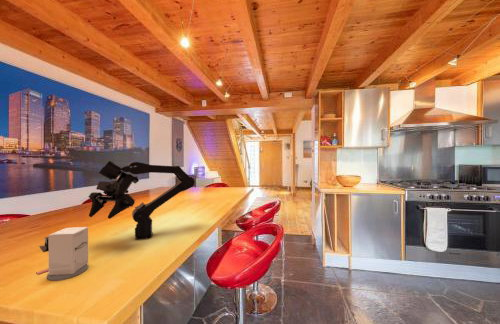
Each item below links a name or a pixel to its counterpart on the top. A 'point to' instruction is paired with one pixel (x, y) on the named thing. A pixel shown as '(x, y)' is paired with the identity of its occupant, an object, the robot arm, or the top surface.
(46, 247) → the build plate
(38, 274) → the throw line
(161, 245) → the top surface
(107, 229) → the top surface
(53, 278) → the disc
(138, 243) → the top surface
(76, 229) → the supplement box
